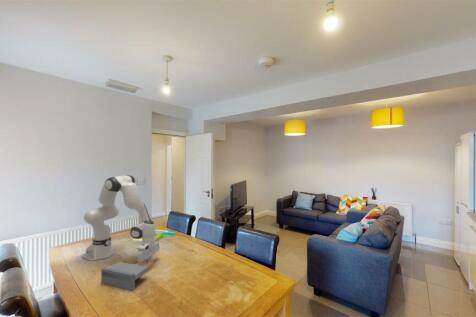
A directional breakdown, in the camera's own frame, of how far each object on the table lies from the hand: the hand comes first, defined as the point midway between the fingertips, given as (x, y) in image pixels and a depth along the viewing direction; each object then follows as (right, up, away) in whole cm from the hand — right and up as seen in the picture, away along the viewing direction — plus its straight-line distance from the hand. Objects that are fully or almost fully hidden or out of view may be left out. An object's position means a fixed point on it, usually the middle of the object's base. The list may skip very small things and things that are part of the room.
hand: (148, 262), depth 156 cm
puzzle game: (-16, -3, +53) cm, 55 cm away
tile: (-3, -2, -8) cm, 9 cm away
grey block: (-7, -2, -20) cm, 21 cm away
